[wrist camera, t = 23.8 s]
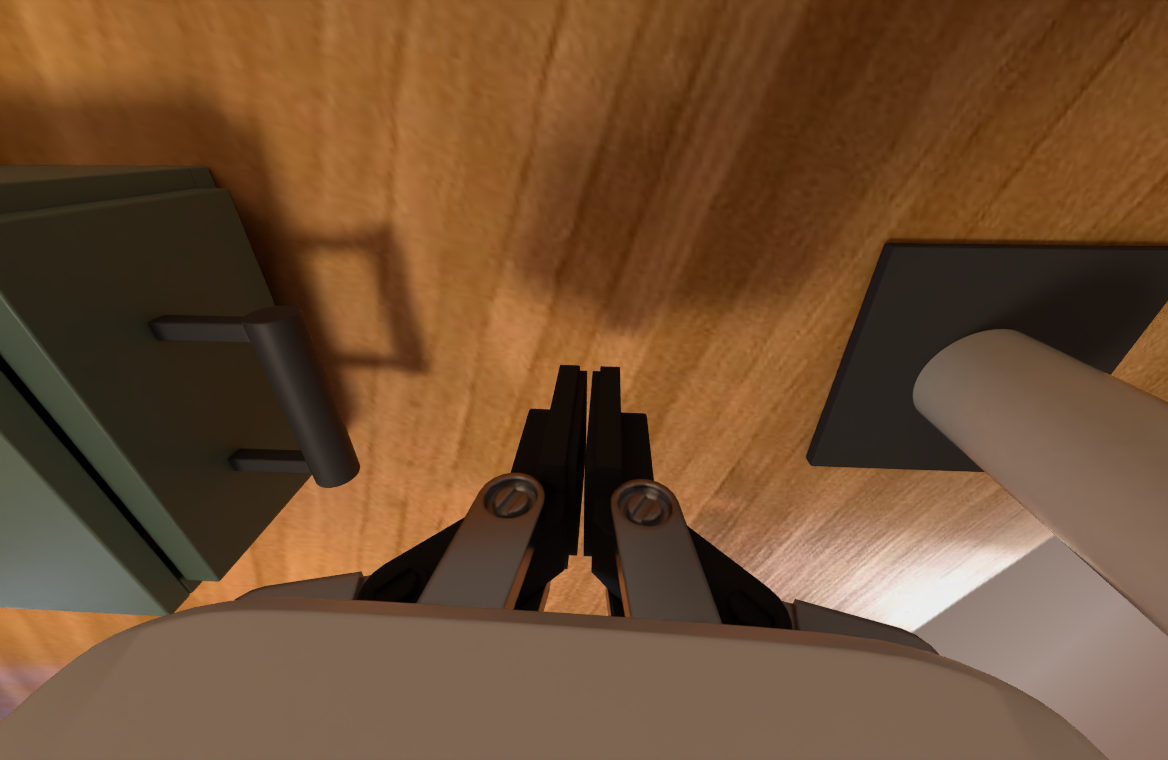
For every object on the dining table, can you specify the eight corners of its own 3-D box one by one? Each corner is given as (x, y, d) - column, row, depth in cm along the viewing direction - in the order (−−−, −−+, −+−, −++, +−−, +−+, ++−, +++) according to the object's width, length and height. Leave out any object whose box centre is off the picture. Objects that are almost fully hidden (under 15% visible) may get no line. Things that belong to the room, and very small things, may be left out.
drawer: (350, 188, 14) (157, 230, 8) (421, 452, 19) (341, 588, 14) (-143, 185, 14) (-658, 221, 8) (68, 440, 20) (-150, 564, 14)
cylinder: (941, 326, 15) (1543, 677, 5) (1064, 329, 15) (1920, 697, 5) (894, 421, 18) (1261, 789, 8) (1001, 425, 17) (1516, 806, 8)
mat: (884, 242, 14) (895, 246, 14) (1185, 246, 14) (1208, 250, 13) (805, 457, 20) (810, 466, 19) (1023, 465, 19) (1034, 474, 19)
